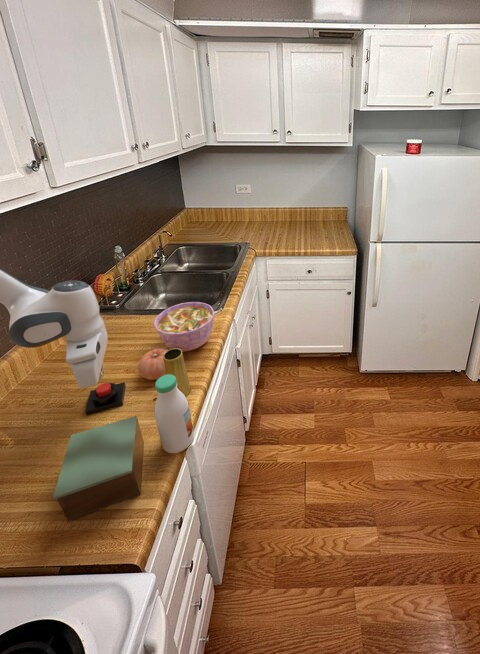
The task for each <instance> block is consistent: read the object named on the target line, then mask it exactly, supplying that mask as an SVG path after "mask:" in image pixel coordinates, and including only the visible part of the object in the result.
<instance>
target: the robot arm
mask: <svg viewBox="0 0 480 654" xmlns="http://www.w3.org/2000/svg"><path fill="white" fill-rule="evenodd" d="M0 304H1V305H3V306H4V307H5V308H6V309H7V311H8V313H9V316H10V317H9V325H8V336H9V339H10V340H11V342H12V343H13V344H15V345H17V346H18V347H21V348H28V349H32V348H33V349H34V348H39V347H43V346H45V345H48V344H50V343H52V342H56V341H58V340H59V339H61V338H63V337H65V345H66V353H65V362H66V364H67V365H70V367H71V368H70V369H71V372H72V374H73V377H74V379H75V381H76V383H77V385H78V387H79V388H81V389H87V388H91V387H92V388H93V387H95V386H97V385H98V384H99V380H103V379H104V375H105V367H104V360H105V355H106V351H107V347H108V343H109V338H108V337H109V336H108V335H109V334H108V331H107V328H106V325H105V321H104V319H103V317H102V316H101V314H100V305H99V303H98V299H97V296H96V294H95V292H94V290H93V288H92V287H91V286H90V285H89V284H88V283H87V282H85V281H81V280H66V281H62V282H58V283H56V284H55V285H53V286H52V288H51V289H50V290H49V289H45V288H43V287H42V288H41V287H37V286H33V285H30V284H27V283H25V282H24V281H22V280H20V279H18V278H17V277H15V276H13V275H12V274H10V273H8V272H7V271H5V270H4V269H2V268H0Z"/></svg>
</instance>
